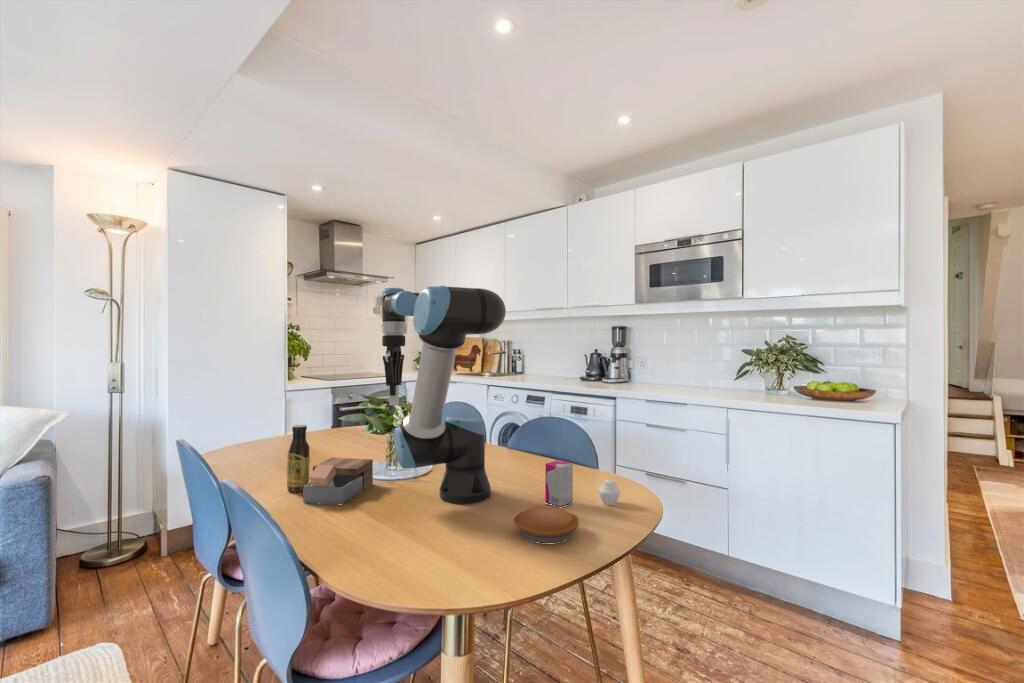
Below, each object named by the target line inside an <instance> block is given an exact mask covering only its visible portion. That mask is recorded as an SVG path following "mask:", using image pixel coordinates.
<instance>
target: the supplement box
mask: <svg viewBox="0 0 1024 683" xmlns="http://www.w3.org/2000/svg"><path fill="white" fill-rule="evenodd" d="M573 468H574V463H572V462H568V461H563V460H558V459H557V460H554V461H550V462H547V463H545V482H544V483H545V488H544V490H545V491H544V492H545V493H544V494H545V496H544V497H545V498H544V499H545V501H544V502H546V503H548V504H552V505H555V506H558V507H563V506H565V505H568V504H570V503H572V502H573V501H574V497H573V496H574V489H573V488H574V486H573V485H574V478H573V476H574V469H573ZM573 503H574V502H573ZM573 503H572V504H573ZM548 504H547V505H548ZM570 505H571V504H570ZM568 506H569V505H568ZM558 507H557V508H558Z"/></svg>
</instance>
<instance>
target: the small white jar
mask: <svg viewBox="0 0 1024 683" xmlns="http://www.w3.org/2000/svg"><path fill="white" fill-rule="evenodd" d="M597 491H598V494H599V495H598V496H599V497H600V499H601V501H602V503H603V504H604V505H605V504H607V505H606V506H608V505H612V506H615V505H616V503H617V502H618V500H619V498H620V495H621V489H620V488H619V487H618V485H617V483H616V481H615V480H613V479H610V478H608V479H604V480H603V481H602V484H601V485H600V486H599V488H598V490H597ZM614 504H615V505H614Z"/></svg>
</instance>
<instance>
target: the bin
mask: <svg viewBox="0 0 1024 683" xmlns="http://www.w3.org/2000/svg"><path fill="white" fill-rule="evenodd" d="M332 480H333V482H334V485H335V487H325V486H311V484H312V483H311V481H309V483H308V484H306V485H304V486H303V491H302V492H303V493H302V496H303V499H302V500H303V501H302V502H307V503H306V504H313V503H321V504H320V505H331V504H342V505H341V506H344V505H345V504H346V502H347V501H348V502H349V501H351V500H352V499H353V497H354V496H355V497H357V496H358V495H359V494H361V493H362V492H363V491H364V490H363V476H359V475H335V476H334V478H333V479H332ZM361 491H362V492H361ZM360 492H361V493H360ZM358 493H359V494H358ZM357 494H358V495H357ZM356 495H357V496H356ZM355 497H354V498H355ZM351 498H352V499H351ZM350 499H351V500H350ZM348 502H347V503H348ZM344 503H345V504H344ZM343 504H344V505H343Z"/></svg>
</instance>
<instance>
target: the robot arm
mask: <svg viewBox="0 0 1024 683" xmlns="http://www.w3.org/2000/svg"><path fill="white" fill-rule="evenodd" d="M506 311H507V310H506V304H505V302H504V300H503V298H501V296H500V295H499V294H497V293H496V292H495V291H493V290H489V289H486V288H477V287H476V288H475V287H460V286H459V287H458V286H445V285H438V286H437V285H436V286H427V287H425V288H424V289H422V290H421V291H420V292H412V291H409V290H405V289H403V288H400V287H386V288H384V289H382V292H381V312H382V314H381V319H382V324H381V326H380V327H381V328H382V330H381V331H382V334H383V335H382V337H381V338H382V339H381V342H382V343H381V344H382V347H386V351H385V355H383V356H382V361H383V366H384V374H385V383H386V384H385V386H387V387H389V388H388V389H389V391H388V392H389V398H388V399H389V401H388V402H389V404H388V405H389V406H399V404H400V395H399V394H400V386H402V382H403V370H404V360H405V354H402V347H405V346H406V336H405V335H404V334H406V317H413V319H412V322H413V328H414V330H415V333H417V334H418V338H419V340H420V341H421V342H422V347H421V348H422V349H421V354H420V360H419V366H418V371H417V376H416V382H415V385H414V386H415V387H414V393H413V398H412V403H411V409H410V413H408V414H407V415H405V417H404V418H403V423H402V426H400V425H399V426H396V427H394V430H393V447H394V452H395V456H396V459H397V461H398V463H399V464H398V465H400V467H402V468H403V469H418V468H423V467H429V466H436V465H443V464H445V471H444V473H443V477H442V480H441V482H440V487H439V499H441V500H442V501H444V502H446V503H447V502H448V503H452V504H459V505H460V504H475V503H479V502H482V501H485V500H487V499H488V498H490V497H491V495H492V494H491V492H492V490H491V484H490V481H489V478H488V475H487V472H486V467H485V463H486V460H485V459H486V458H485V457H486V456H485V454H486V453H485V452H486V451H485V449H486V448H485V446H486V439H485V438H486V432H485V431H486V430H485V423H484V422H483V420H481V419H479V418H476V417H475V418H474V417H469V416H463V415H462V416H459V415H449V416H446V417H445V418H444V420H443V415H444V410H445V404H446V401H447V397H448V390H449V387H450V382H451V377H452V374H453V373H452V372H453V369H454V365H455V360H456V354H457V350H458V349H461V348H462V347H463V346H464V345H465V342H466V338H467V335H469V336H470V335H483V334H484V335H485V334H488V333H489V334H490V333H491V332H493V331H496V330H497V329H498V328H499V327H500V326H502V324H503V322H504V321H505V318H506V315H507V314H506Z"/></svg>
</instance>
